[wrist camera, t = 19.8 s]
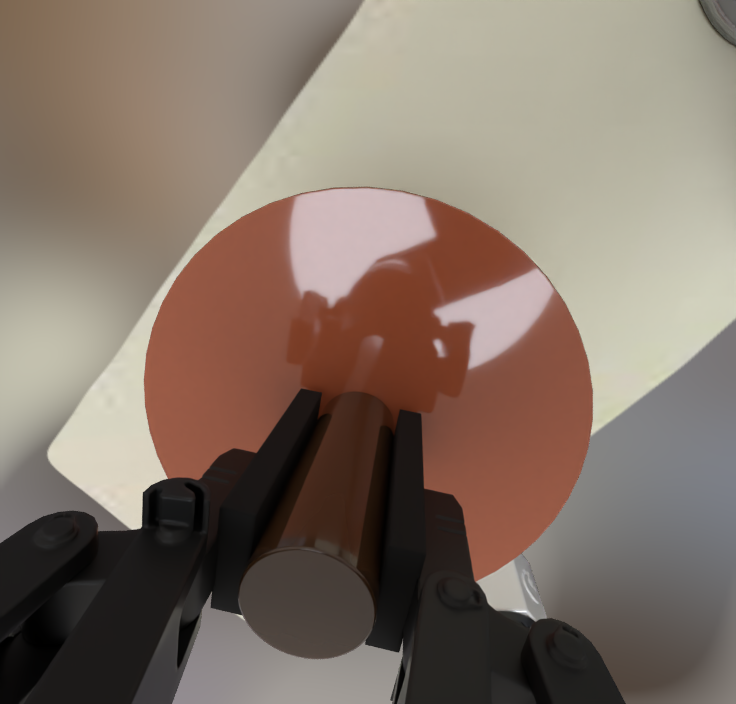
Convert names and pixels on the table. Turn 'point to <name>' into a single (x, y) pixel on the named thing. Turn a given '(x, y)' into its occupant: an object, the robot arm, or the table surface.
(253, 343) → the lid
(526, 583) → the jar
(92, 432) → the table surface
